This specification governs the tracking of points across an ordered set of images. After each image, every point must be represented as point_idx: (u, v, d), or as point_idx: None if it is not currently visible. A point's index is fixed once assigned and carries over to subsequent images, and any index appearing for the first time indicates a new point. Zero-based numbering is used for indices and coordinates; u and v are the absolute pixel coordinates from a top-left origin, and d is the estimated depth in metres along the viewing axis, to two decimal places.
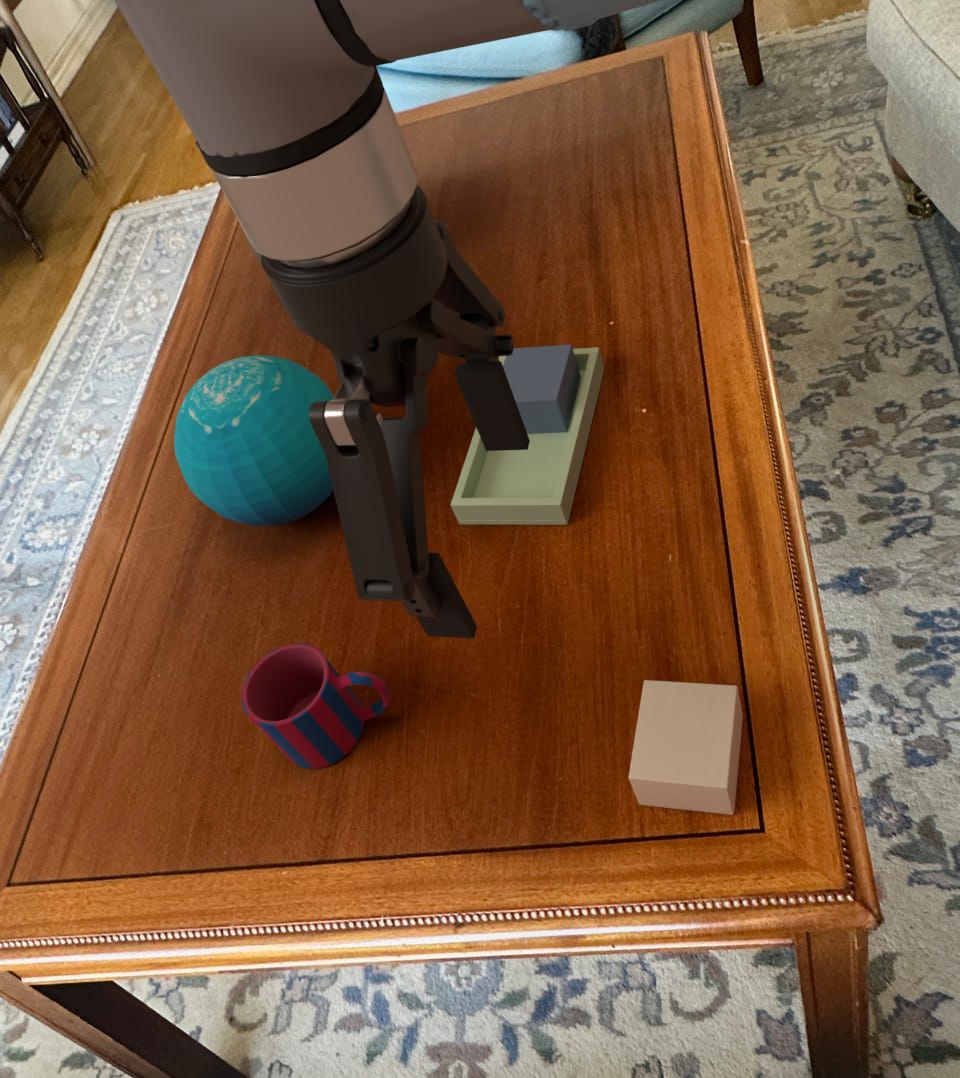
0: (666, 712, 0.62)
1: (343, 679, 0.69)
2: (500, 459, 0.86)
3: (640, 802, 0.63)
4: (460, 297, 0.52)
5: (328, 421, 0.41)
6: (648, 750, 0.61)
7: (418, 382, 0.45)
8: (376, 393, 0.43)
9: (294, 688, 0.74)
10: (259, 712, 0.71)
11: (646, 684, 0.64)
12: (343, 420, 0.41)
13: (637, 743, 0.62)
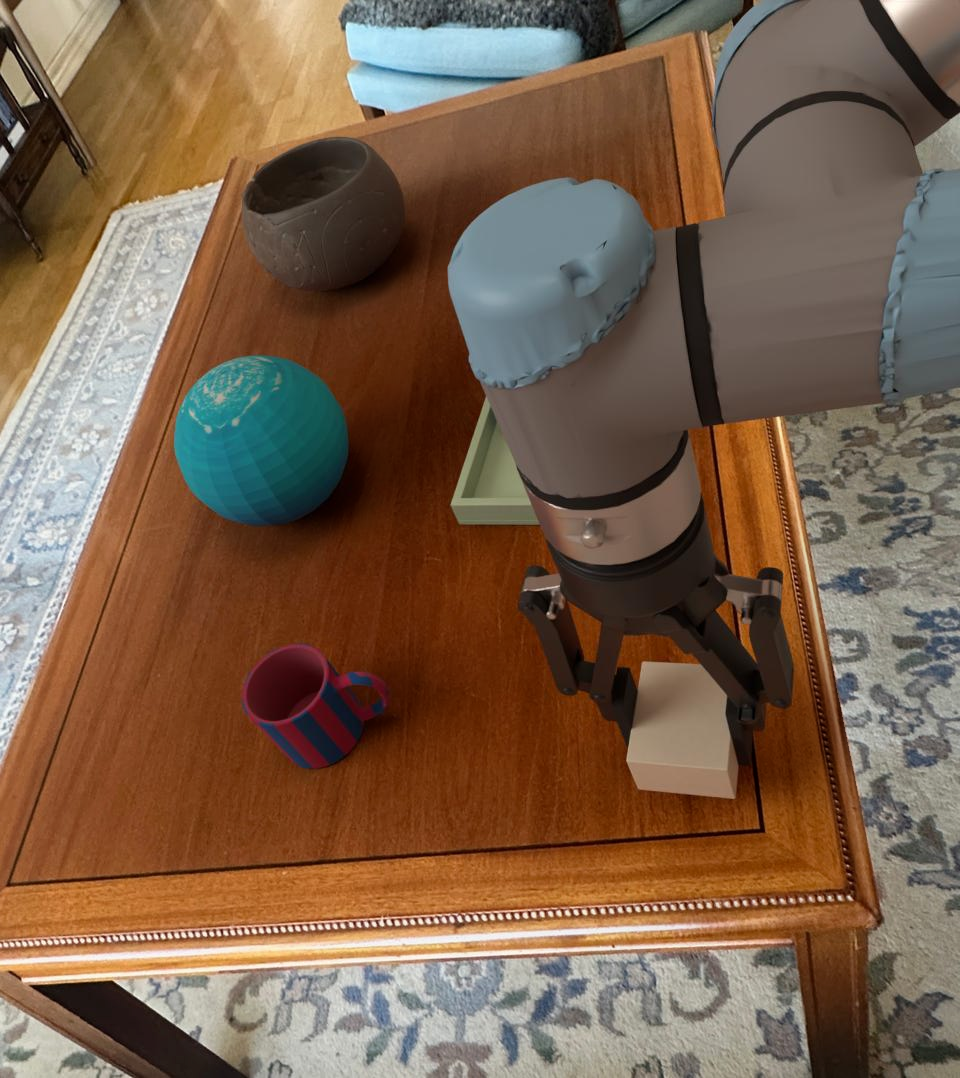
0: (665, 694, 0.61)
1: (343, 679, 0.69)
2: (500, 459, 0.86)
3: (639, 787, 0.61)
4: (570, 633, 0.56)
5: None
6: (646, 733, 0.59)
7: None
8: None
9: (294, 688, 0.74)
10: (259, 712, 0.71)
11: (645, 665, 0.62)
12: (781, 588, 0.48)
13: (635, 725, 0.60)
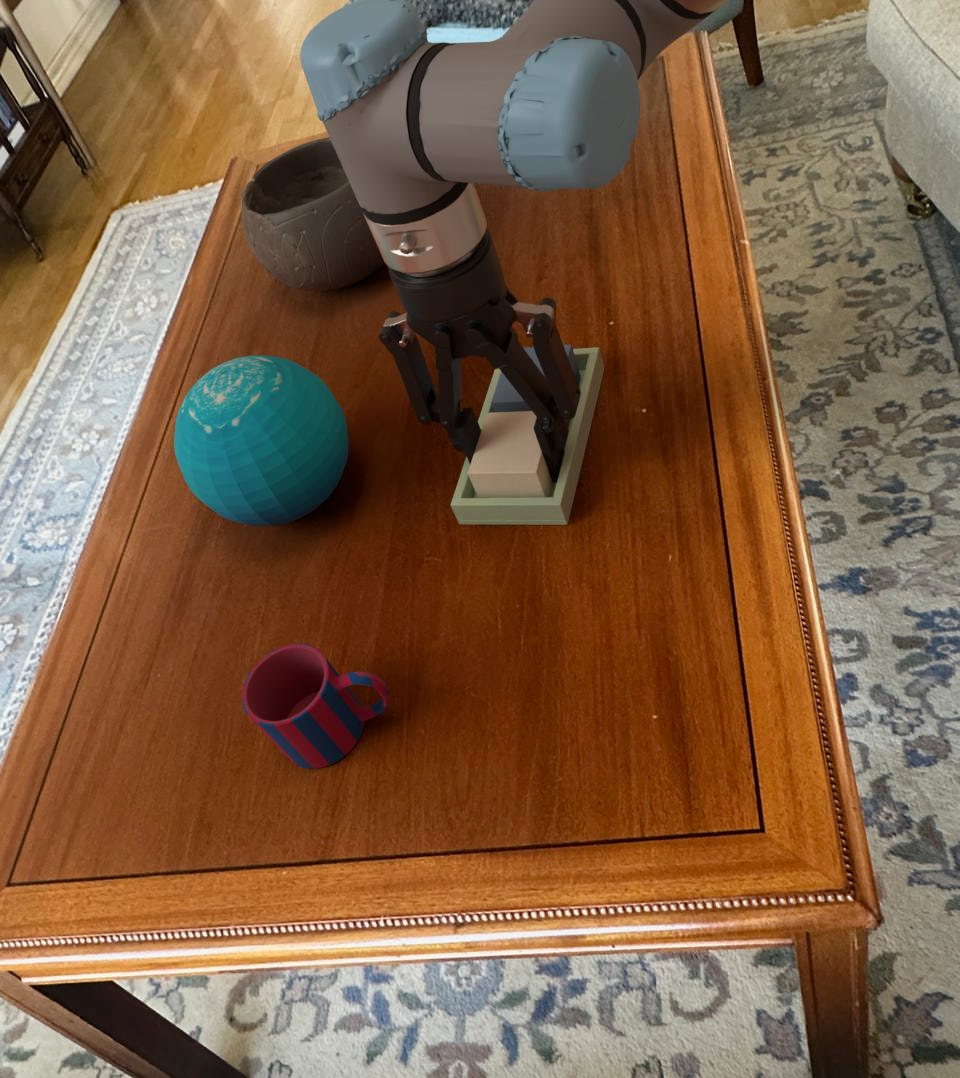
0: (500, 431, 0.82)
1: (343, 679, 0.69)
2: None
3: None
4: (423, 370, 0.78)
5: (551, 318, 0.69)
6: (483, 455, 0.81)
7: None
8: None
9: (294, 688, 0.74)
10: (259, 712, 0.71)
11: (488, 415, 0.84)
12: (553, 311, 0.70)
13: (476, 451, 0.82)
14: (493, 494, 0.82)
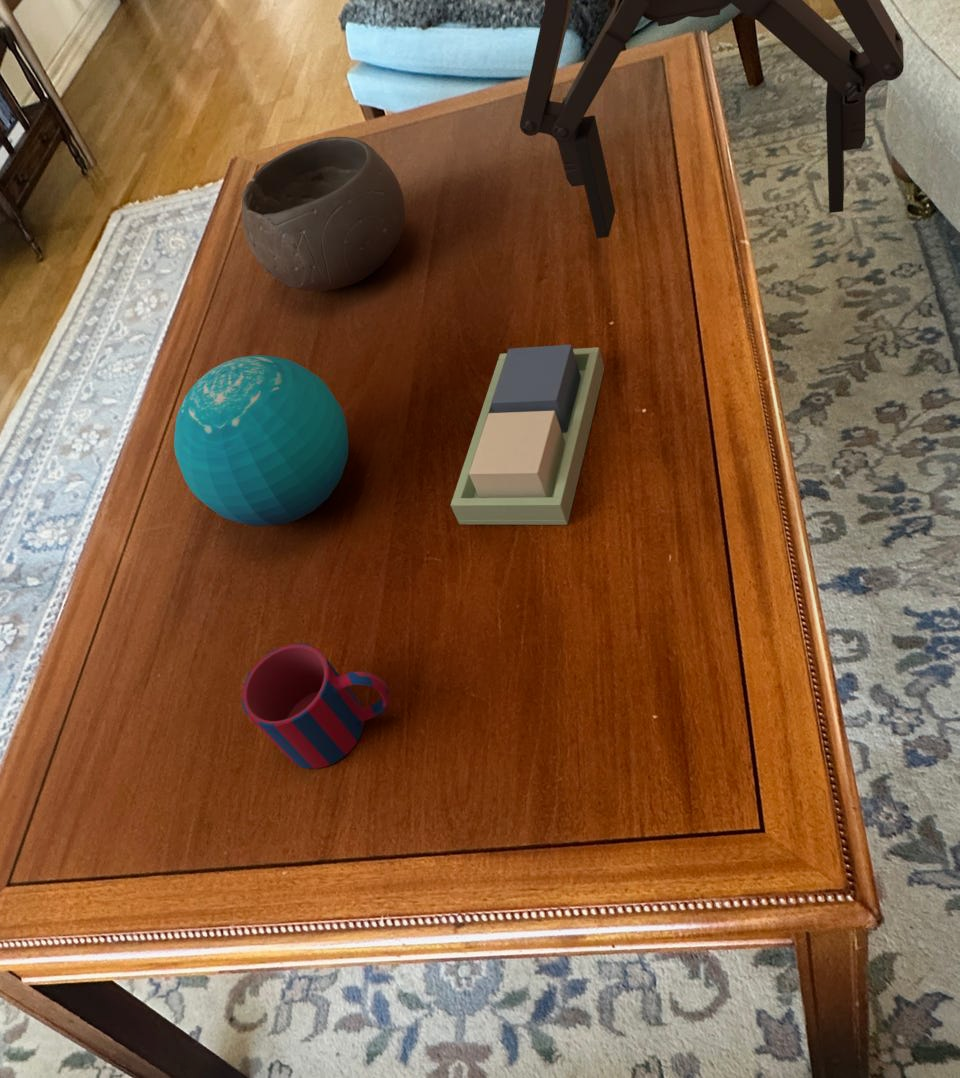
0: (501, 431, 0.82)
1: (343, 679, 0.69)
2: None
3: None
4: (560, 49, 0.54)
5: None
6: (485, 455, 0.81)
7: None
8: None
9: (294, 688, 0.74)
10: (259, 712, 0.71)
11: (490, 415, 0.84)
12: None
13: (477, 452, 0.82)
14: (494, 494, 0.82)
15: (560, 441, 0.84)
